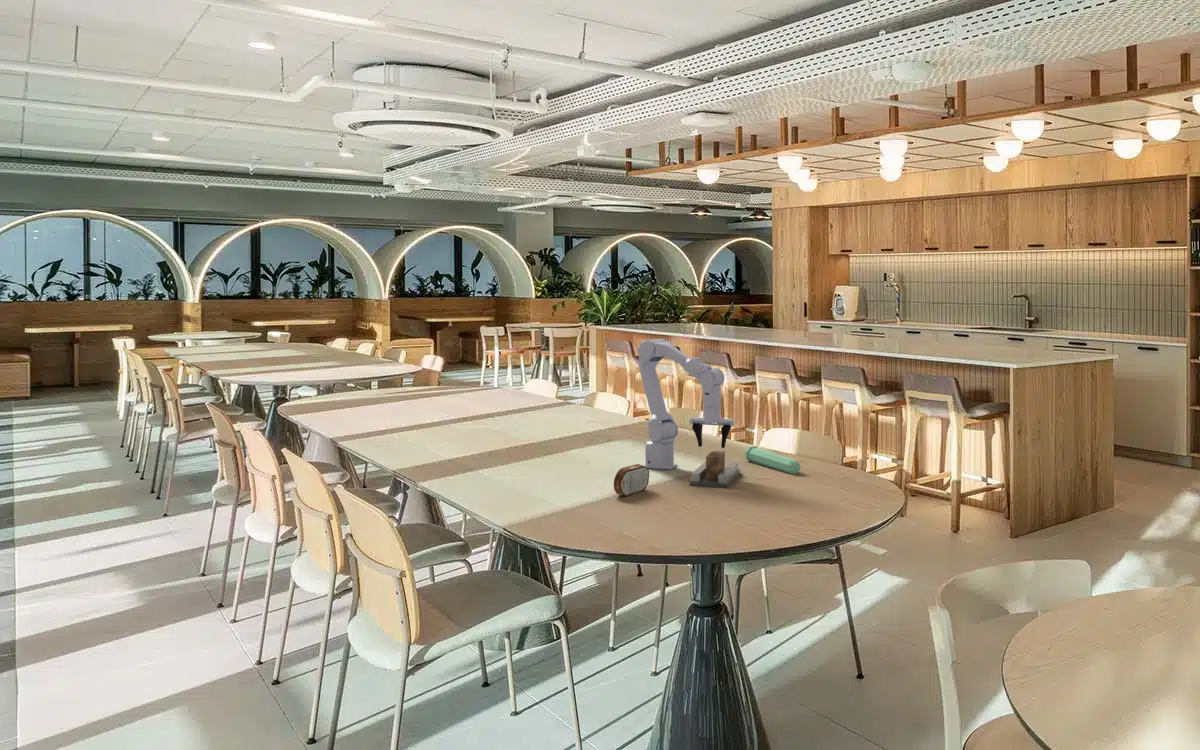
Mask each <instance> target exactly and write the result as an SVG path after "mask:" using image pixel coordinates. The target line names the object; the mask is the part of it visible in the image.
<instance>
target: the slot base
mask: <svg viewBox="0 0 1200 750" xmlns="http://www.w3.org/2000/svg"><path fill="white" fill-rule="evenodd" d="M739 473H740V474H741V469H740V468H739V462H734V461H733V462H731V461H730V462H729V463H728V465H727V466H725V469H724V470H723V471H722V472H721V473H720V474H719V475H718V479H711V478H706V460H705V461H704V462H703V463H701V465H699V466H698V467H697V468H696V469H695V470H694V471H693V472H692V473H691V479H690V480H689V482H688V484H689V486H693V485H694V487H695V486H696V487H697V486H698V487H710V488H711V486H712V487H713V488H724V487H727V488H728V487H730V486H731V485H732V483H733V482H734V481H735V480H736V478H737V477H738V476H739V475H740V474H739ZM734 479H735V480H734ZM733 480H734V481H733ZM732 481H733V482H732ZM731 482H732V483H731Z"/></svg>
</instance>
